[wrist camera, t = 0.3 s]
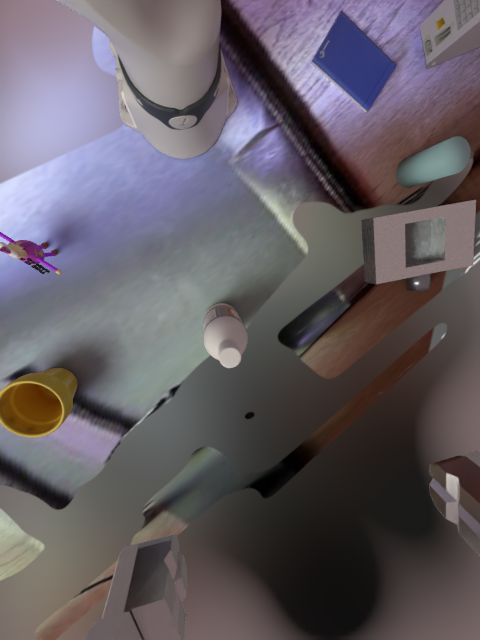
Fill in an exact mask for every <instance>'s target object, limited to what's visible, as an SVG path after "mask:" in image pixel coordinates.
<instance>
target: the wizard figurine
mask: <svg viewBox="0 0 480 640" xmlns="http://www.w3.org/2000/svg"><path fill="white" fill-rule="evenodd" d="M0 236H1V237H2V238H4V239H6V240H7V241H9V242H10V243H9V245H6V244H5V243H3V242H0V251H2V252H5V253H7V254H9V255H10V256H12V257H14V258H18V259H20V260H21V261H23V262H25V263H26V264H28V265H31V264H36V266H35V265H33V266H31V267H32V268H35V269H37V270H39V272H40V273H42V274H44V273H45V272H48V273H49V272H50V271H48V269H45V268H44V267H43V266H41V265H39V264H38V263H42V264H44V265H45V266H47V267H49V268H50V269H52V270H54V271H55V272H56V273H57V274H62V272H61V271H60V270H58V269H57V268H55V267H54V266H52V265H50V264H49V263H47V262H46V261H44V257H48V256H55V255H56V254H57V251H56V250H53V251H51V253H44V252H43V250H42V249H46V248H47V246H48V245H47V243H42V244H41V245H37V244H35V243H33V242H31V241H27V240H19V241H16V242H15V241H14V240H12V239H11V238H9V237H8V236H6V235H4V234H3V233H1V232H0ZM37 266H38V267H39V268H38V267H37ZM41 268H42V269H43V270H46V271H45V272H42V271H43V270H40V269H41Z"/></svg>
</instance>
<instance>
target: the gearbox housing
mask: <svg viewBox="0 0 480 640" xmlns="http://www.w3.org/2000/svg"><path fill="white" fill-rule="evenodd" d="M475 213H476V200H471V201H466V202H460V203H454V204H449V205H443V206H438V207H432V208H426V209H421V210H415V211H410V212H404V213H399V214H393V215H387V216H382V217H376V218H371V219H365V220H361V222H362V240H363V260H364V279H365V282H368V283H373V284H380V283H385V282H390V281H395V280H400V279H405V278H407V290H410V291H422V290H428V289H430V283H431V273H435V272H441V271H446V270H451V269H456V268H461V267H466V266H471V265H473V254H474V234H475Z"/></svg>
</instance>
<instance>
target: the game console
mask: <svg viewBox="0 0 480 640" xmlns="http://www.w3.org/2000/svg"><path fill="white" fill-rule="evenodd" d="M420 31H421V36H422V42H423V48H424V53H425V59H426V66H427V69H428V68H431V67H434V66H435V65H438V64H440V63H443V62H445V61H447V60H450V59H452V58H455V57H457V56H459V55H462V54H464V53H466V52H469V51H471V50H474V49H476V48H478V47H480V0H444V1H443V2H442V3H441V4H440V5H439V6H438V7H437V8H436V10H435V11H434V12H433V13H432V14H431V15H430V16H429V17H428V18H427V19H426V20H425V21H424V22H423V23H422V24H421V25H420Z"/></svg>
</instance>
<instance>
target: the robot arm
mask: <svg viewBox="0 0 480 640" xmlns="http://www.w3.org/2000/svg"><path fill="white" fill-rule="evenodd" d="M56 1H58V2H60V3H61V4H63V5H65V6H66V7H68V8H70V9H71V10H73V11H74V12H76V13H77V14H79V15H80V16H82V17H83V18H85V19H86V20H87V21H89V22H90V23H92V24H93V25H94V26H95V27H97V28H98V29H99V30H100V31H102V32H103V33H104V34H105V35H106V36H107V37H108V38H109V41H110V47H111V51H112V54H113V56H114V57H116V65H117V68H116V77H117V80H118V93H119V107H120V116H121V119H122V121H123V123H124V124H125V125H127V126H128V127H130V128H131V129H133V130H135V131H138V132H139V133H141V134H142V135H143V136H144V137H145V138H146V139H147V141H148V142H149V143H150V144H151V145H152V146H153V147H154V148H156V149H157V150H158V151H160V152H162V153H163V154H165V155H168V156H170V157H174V158H180V159H187V158H193V157H196V156H199V155H201V154H203V153H204V152H206V151H207V150H208V149H210V148H211V147H212V146H213V144H214V143H215V142H216V140H217V139H218V137H219V135H220V133H221V130H222V127H223V125H224V122H225V121H226V119H227V118H228V117H229V116H230V115H231V114H232V113H233V112H234V111H235V109H236V107H237V97H236V94H235V91H234V88H233V85H232V82H231V79H230V76H229V73H228V70H227V66H226V63H225V60H224V57H223V54H222V51H221V48H220V43H219V39H220V24H221V1H220V0H56ZM229 94H230V95H229ZM126 108H127V110H126ZM429 474H430V475H431V476H432V477H433V480H432V482H431V483H430V485H429V486H430V494H431V497H432V499H433V502H434V504H435V505H436V507H437V508H438V510H439V511H440V512H441V513H442V515H443V516H444V517H445V518H446V519H447V520H449V521H451V522H453V523H455V524H457V525H458V530H459V534H460V535H461V536H462V537H463V538H464V539H465V541H466V542H467V543H468V544H469V545H470V546H471V547H472V548H473V549H474V551H475V552H476V553H477V554H478V555H479V556H480V452H478V451H475V452H471V453H468V454H464V455H461V456H455V457H452V458H449V459H445V460H442V461H439V462H435V463H432V464H431V465H430V467H429ZM178 546H179V542H178V540H177V537H176V535H172V536H168V537H164V538H159V539H155V540H151V541H147V542H143V543H139V544H135V545H132V546H128V547H124V548H123V549H122V551H121V553H120V555H119V558H118V562H117V565H116V569H115V572H114V576H113V580H112V583H111V587H110V591H109V594H108V598H107V602H106V605H105V609H104V612H103V616H102V619H100V620H97V621H95V623H94V624H93V626H92V627H91V629H90V630H89V631H88V633H87V634H86V635H85V637H84V638H83V640H184V636H185V617H186V614H185V611H184V608H183V605H182V602H183V600H184V598H185V596H186V594H187V573H186V564H185V560H184V557H183V554H182V553H180V552H179V551H178Z"/></svg>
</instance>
